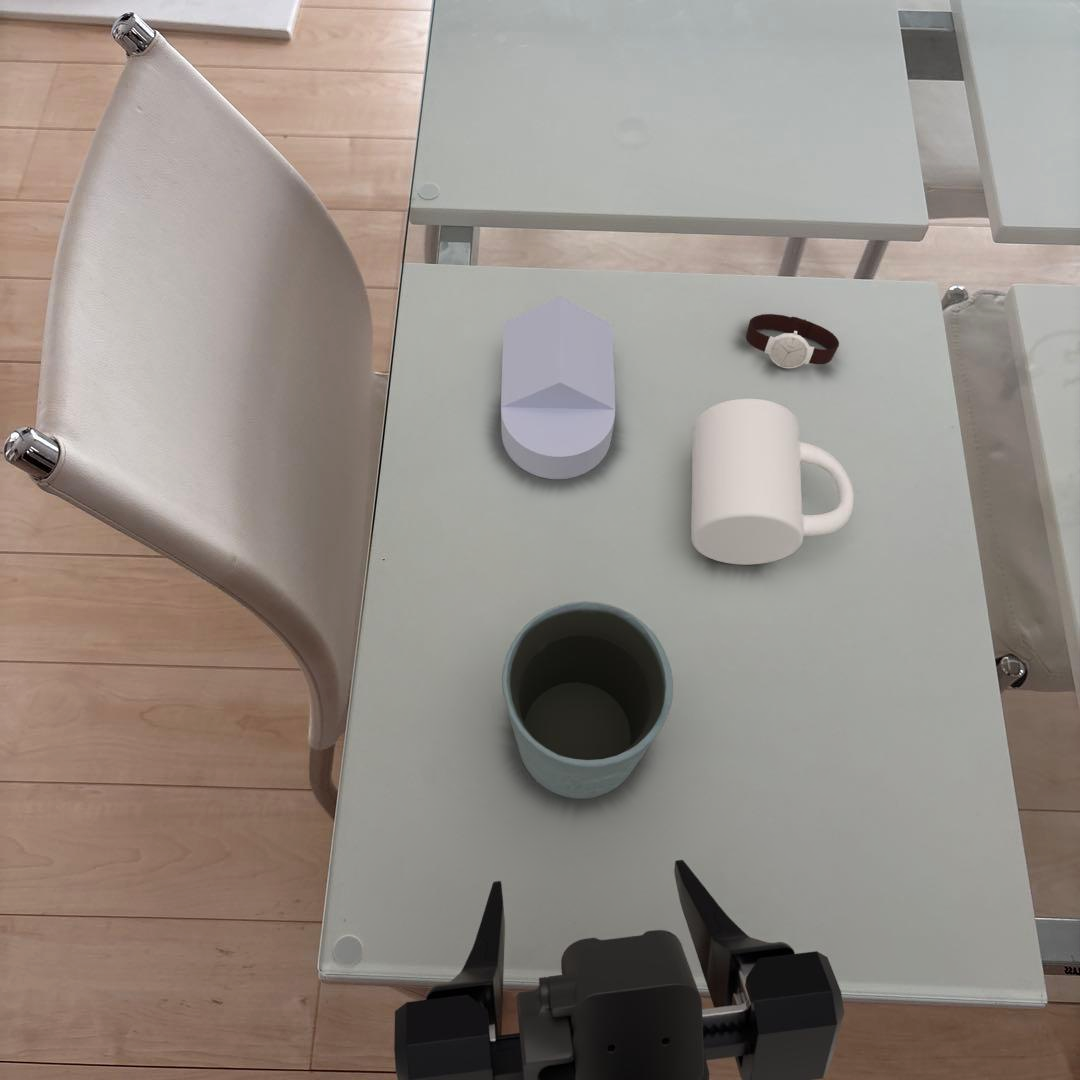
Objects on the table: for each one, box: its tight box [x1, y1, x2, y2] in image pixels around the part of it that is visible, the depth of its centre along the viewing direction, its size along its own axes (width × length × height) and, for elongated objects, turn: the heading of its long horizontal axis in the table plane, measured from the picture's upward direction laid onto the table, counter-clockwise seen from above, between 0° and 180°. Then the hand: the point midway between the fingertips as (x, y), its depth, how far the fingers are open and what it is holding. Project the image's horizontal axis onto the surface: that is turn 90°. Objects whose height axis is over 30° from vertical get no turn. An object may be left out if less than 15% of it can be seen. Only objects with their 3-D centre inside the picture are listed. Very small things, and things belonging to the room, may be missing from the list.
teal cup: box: [501, 600, 674, 800], centre depth 61 cm, size 10×10×12 cm
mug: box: [690, 398, 855, 566], centre depth 72 cm, size 12×10×8 cm
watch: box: [745, 313, 840, 369], centre depth 81 cm, size 8×5×4 cm, turn 73°
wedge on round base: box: [500, 295, 616, 480], centre depth 76 cm, size 9×7×13 cm
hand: (588, 875), depth 48 cm, fingers open, 9 cm apart
